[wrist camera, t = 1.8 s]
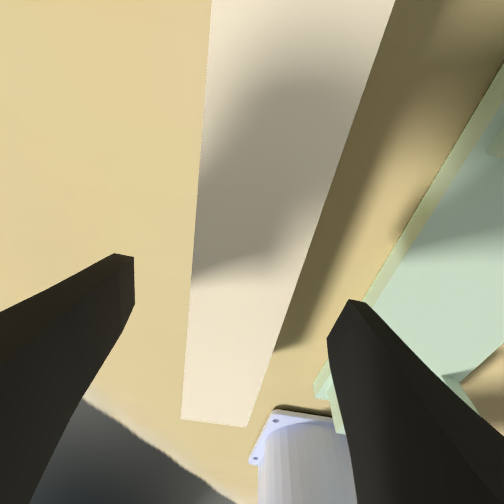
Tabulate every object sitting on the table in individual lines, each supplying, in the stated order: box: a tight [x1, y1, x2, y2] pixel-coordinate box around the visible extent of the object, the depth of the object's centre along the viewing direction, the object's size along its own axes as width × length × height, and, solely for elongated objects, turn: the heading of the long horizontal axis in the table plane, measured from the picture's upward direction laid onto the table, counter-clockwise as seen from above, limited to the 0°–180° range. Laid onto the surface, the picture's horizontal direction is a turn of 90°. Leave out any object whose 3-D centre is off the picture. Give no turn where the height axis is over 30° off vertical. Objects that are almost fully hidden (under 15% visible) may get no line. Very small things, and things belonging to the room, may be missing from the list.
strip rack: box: [313, 63, 504, 435], centre depth 12 cm, size 21×8×4 cm, turn 168°
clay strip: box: [181, 0, 395, 427], centre depth 11 cm, size 18×4×4 cm, turn 170°
